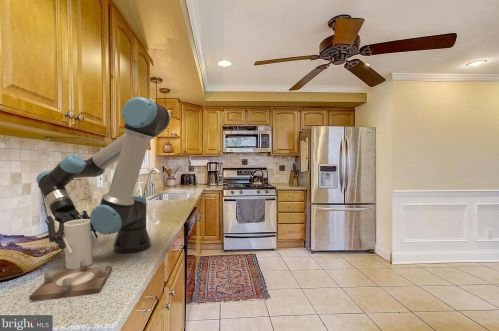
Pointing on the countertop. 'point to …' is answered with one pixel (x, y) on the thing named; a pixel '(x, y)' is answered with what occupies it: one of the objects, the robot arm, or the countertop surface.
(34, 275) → the countertop surface
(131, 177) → the robot arm
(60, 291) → the locator plate
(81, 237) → the cup
